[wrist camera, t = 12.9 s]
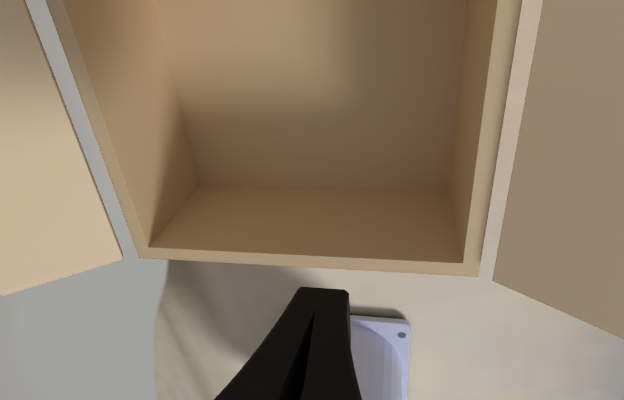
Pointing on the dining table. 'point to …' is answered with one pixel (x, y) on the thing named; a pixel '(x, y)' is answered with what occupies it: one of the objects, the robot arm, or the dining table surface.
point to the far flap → (42, 170)
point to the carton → (298, 126)
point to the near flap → (571, 168)
